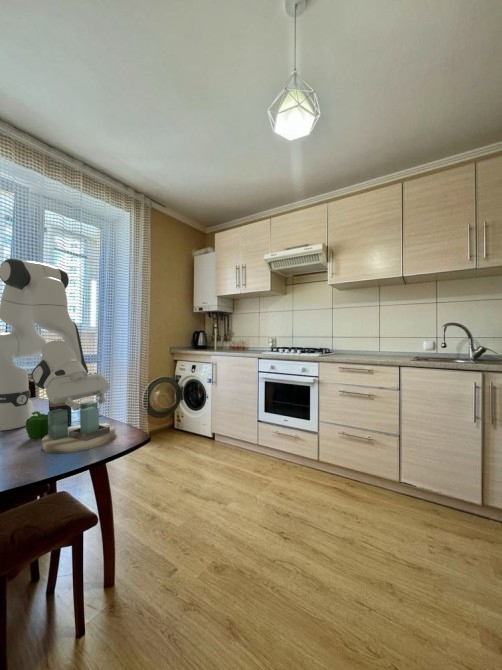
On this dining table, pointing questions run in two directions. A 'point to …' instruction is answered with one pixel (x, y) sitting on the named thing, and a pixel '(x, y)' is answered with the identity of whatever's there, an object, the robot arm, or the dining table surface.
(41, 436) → the bell pepper
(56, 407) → the travel mug
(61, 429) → the stool seat
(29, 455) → the dining table surface
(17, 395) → the robot arm
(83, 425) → the loose leg
